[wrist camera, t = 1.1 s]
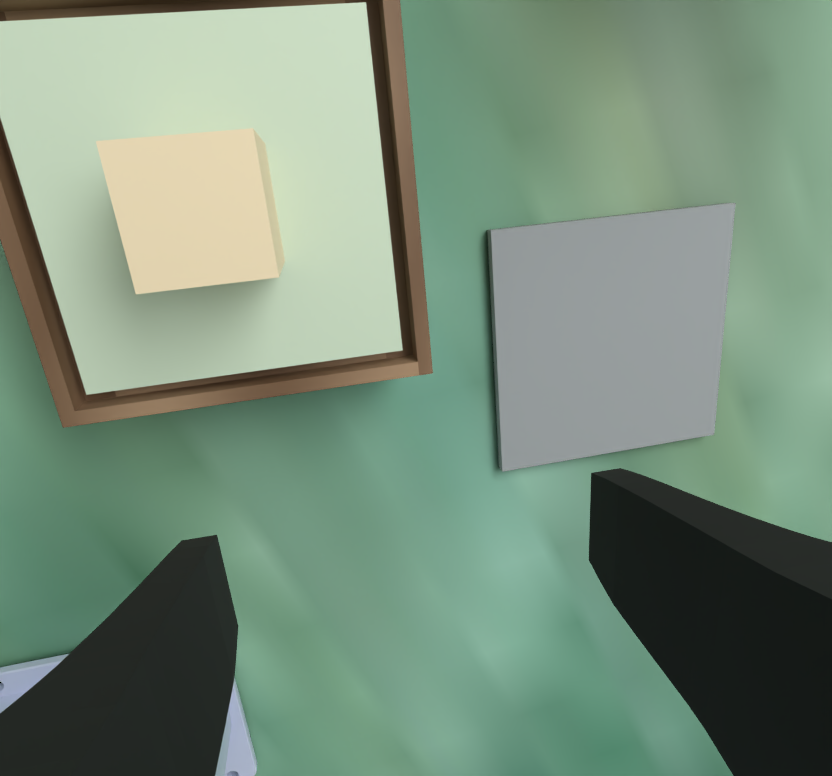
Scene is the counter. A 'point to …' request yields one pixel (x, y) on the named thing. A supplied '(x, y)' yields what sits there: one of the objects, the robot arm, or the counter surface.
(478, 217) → the counter surface
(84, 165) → the lid
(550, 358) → the rubber mat
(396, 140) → the walnut box
